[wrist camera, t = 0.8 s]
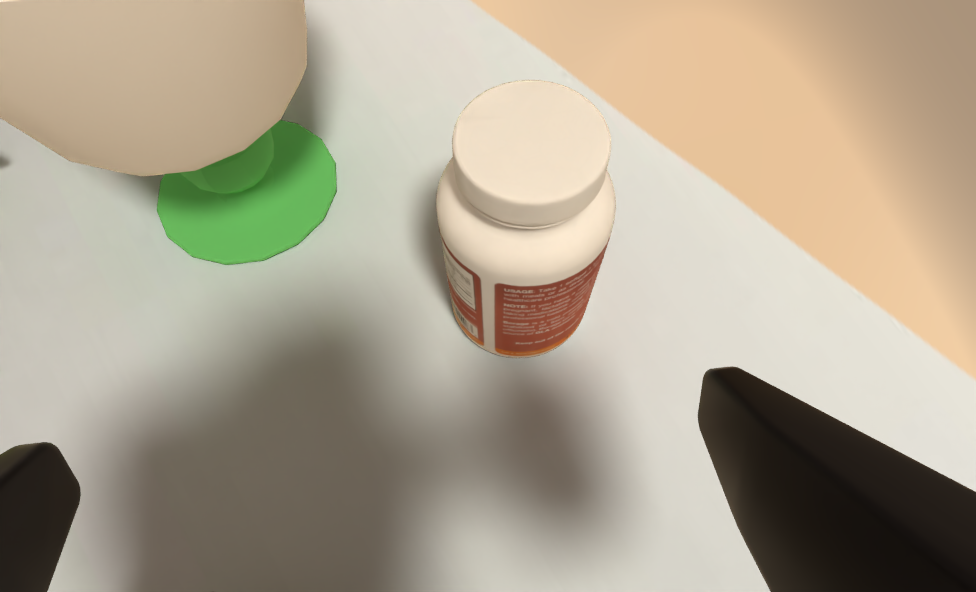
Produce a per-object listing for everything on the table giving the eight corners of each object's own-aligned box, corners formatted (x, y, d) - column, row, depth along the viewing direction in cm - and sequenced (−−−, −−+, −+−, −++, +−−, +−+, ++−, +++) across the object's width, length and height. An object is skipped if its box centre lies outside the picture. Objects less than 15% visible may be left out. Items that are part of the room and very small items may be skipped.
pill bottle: (602, 269, 27) (666, 94, 17) (556, 384, 25) (600, 258, 15) (483, 225, 28) (478, 37, 18) (428, 330, 26) (388, 180, 16)
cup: (120, 348, 26) (-342, 69, 11) (103, 124, 31) (-220, -249, 17) (414, 260, 28) (333, -74, 13) (349, 64, 33) (243, -318, 19)
